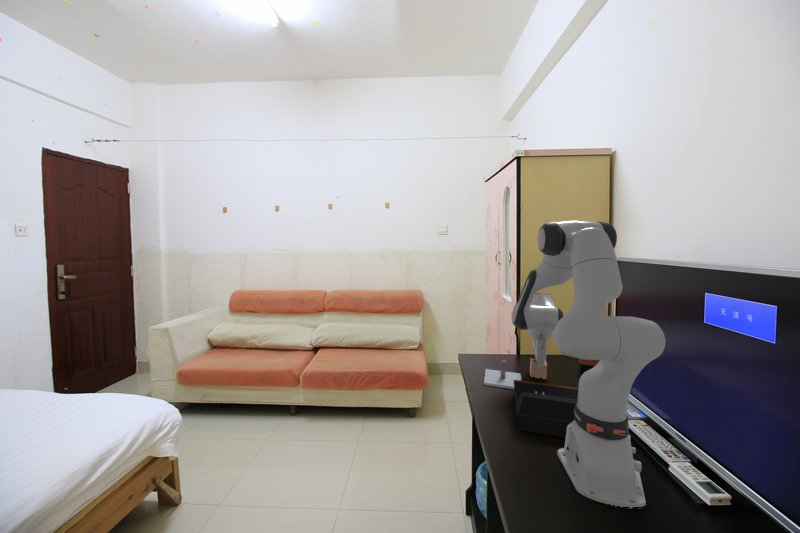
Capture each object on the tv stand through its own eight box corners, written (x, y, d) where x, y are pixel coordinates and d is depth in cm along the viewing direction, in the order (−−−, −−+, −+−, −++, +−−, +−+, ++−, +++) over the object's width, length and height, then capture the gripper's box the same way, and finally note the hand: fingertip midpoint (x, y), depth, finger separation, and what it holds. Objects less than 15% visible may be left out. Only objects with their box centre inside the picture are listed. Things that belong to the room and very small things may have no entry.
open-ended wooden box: (546, 379, 142) (547, 365, 141) (530, 377, 144) (531, 363, 143) (544, 373, 148) (545, 359, 147) (529, 371, 149) (530, 358, 149)
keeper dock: (521, 390, 132) (523, 370, 131) (483, 385, 136) (484, 365, 135) (520, 375, 145) (521, 357, 144) (485, 371, 149) (486, 353, 148)
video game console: (598, 407, 121) (600, 379, 120) (622, 451, 97) (625, 417, 96) (512, 394, 129) (514, 368, 128) (515, 432, 105) (517, 400, 104)
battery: (598, 379, 143) (600, 356, 142) (580, 377, 144) (581, 354, 143) (595, 375, 147) (597, 352, 146) (577, 373, 149) (579, 350, 148)
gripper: (551, 340, 133) (549, 374, 135) (545, 325, 153) (543, 356, 154) (534, 338, 135) (531, 372, 137) (530, 324, 154) (528, 354, 156)
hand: (538, 363), depth 146 cm, fingers open, 8 cm apart
